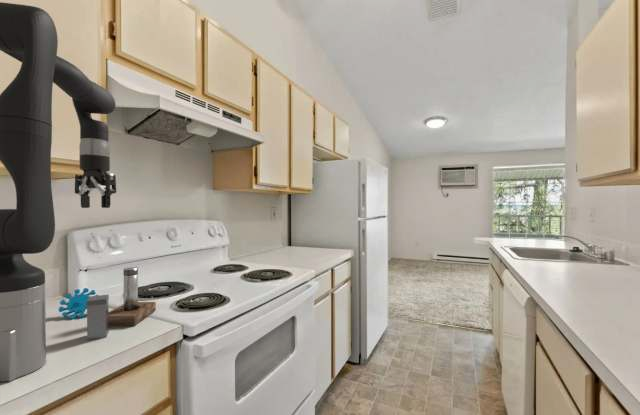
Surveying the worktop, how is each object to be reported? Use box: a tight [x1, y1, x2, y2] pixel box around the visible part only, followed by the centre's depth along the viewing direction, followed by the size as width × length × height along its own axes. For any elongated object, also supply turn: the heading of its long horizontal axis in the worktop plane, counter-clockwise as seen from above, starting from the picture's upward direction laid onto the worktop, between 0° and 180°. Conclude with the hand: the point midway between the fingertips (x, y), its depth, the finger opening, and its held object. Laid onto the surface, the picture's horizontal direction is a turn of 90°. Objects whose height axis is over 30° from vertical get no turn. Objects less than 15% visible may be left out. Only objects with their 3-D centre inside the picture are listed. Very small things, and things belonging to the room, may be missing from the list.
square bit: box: [86, 294, 110, 341], centre depth 80 cm, size 4×4×10 cm
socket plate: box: [109, 301, 157, 328], centre depth 92 cm, size 12×9×3 cm
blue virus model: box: [58, 287, 100, 320], centre depth 96 cm, size 11×6×10 cm
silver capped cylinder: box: [122, 266, 139, 311], centre depth 92 cm, size 4×4×14 cm
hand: (95, 207), depth 95 cm, fingers open, 8 cm apart
